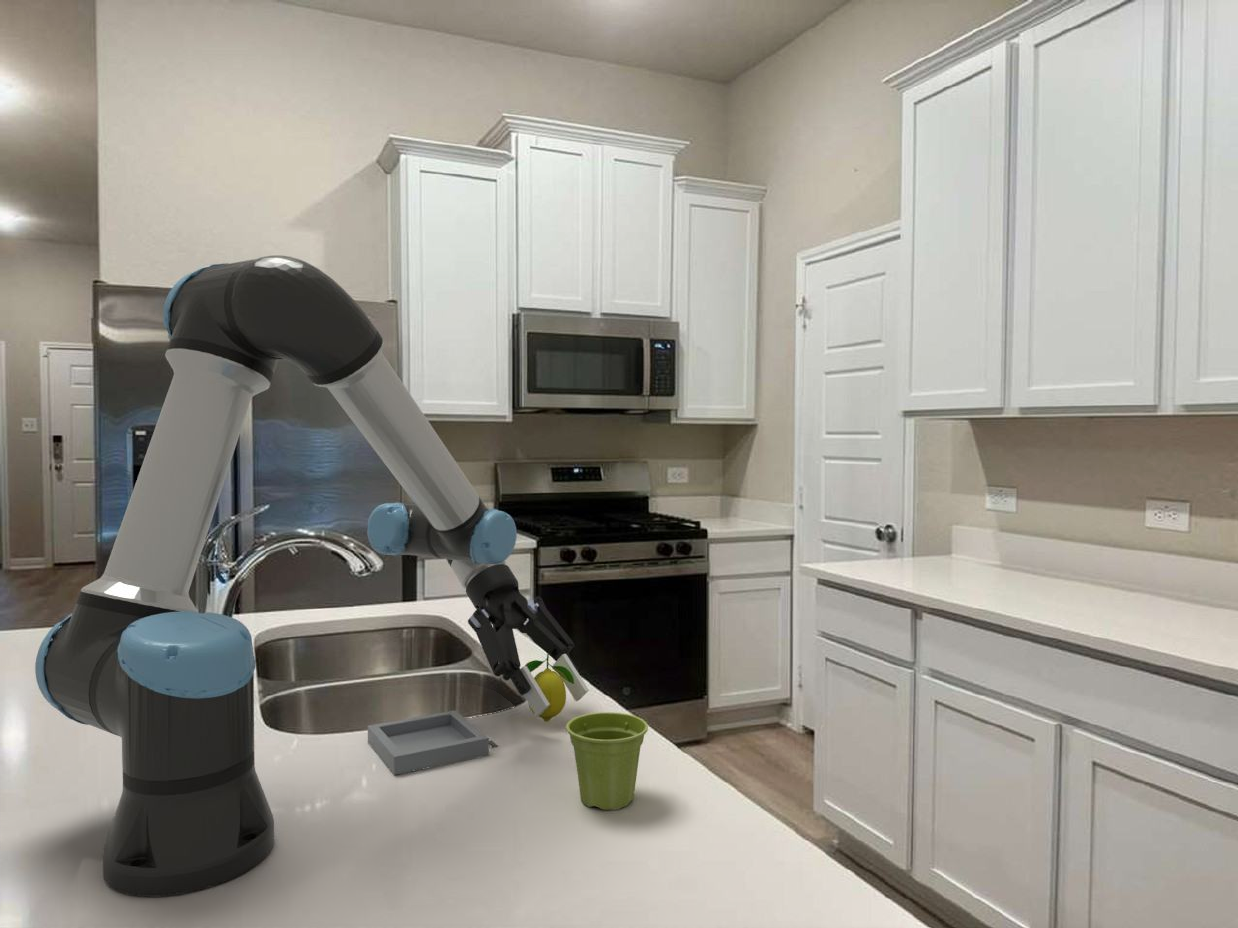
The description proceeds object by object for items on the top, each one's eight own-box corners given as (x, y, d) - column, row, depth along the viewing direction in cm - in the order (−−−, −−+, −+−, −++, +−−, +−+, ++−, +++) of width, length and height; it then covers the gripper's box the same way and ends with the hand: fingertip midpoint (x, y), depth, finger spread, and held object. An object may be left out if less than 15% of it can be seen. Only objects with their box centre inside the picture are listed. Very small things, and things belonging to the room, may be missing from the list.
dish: (488, 755, 109) (488, 737, 109) (394, 775, 102) (394, 756, 102) (455, 725, 120) (455, 710, 119) (367, 742, 113) (367, 725, 113)
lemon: (516, 725, 119) (517, 656, 119) (532, 713, 125) (533, 646, 125) (560, 731, 117) (561, 660, 117) (574, 718, 123) (575, 650, 123)
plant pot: (554, 789, 99) (555, 717, 98) (627, 776, 103) (628, 707, 102) (583, 824, 90) (583, 745, 90) (661, 808, 94) (661, 733, 94)
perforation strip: (497, 746, 112) (497, 744, 112) (492, 747, 112) (492, 745, 112) (472, 725, 120) (472, 724, 120) (468, 726, 119) (468, 725, 119)
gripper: (521, 582, 138) (595, 699, 129) (421, 602, 122) (497, 737, 113) (544, 554, 134) (622, 671, 125) (444, 570, 119) (525, 707, 109)
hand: (563, 702), depth 119 cm, fingers closed on lemon, 8 cm apart
